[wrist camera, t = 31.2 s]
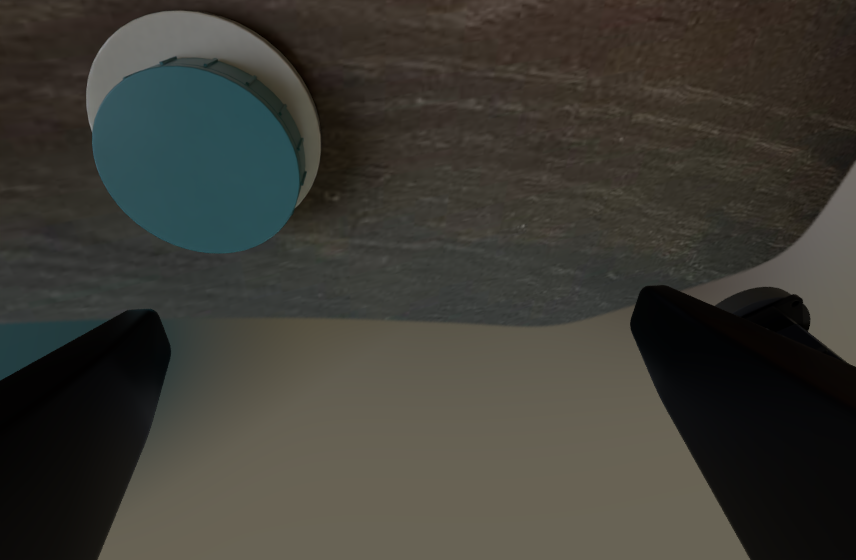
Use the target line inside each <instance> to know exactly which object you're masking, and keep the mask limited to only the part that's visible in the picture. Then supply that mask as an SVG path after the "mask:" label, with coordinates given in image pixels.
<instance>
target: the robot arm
mask: <svg viewBox="0 0 856 560" xmlns="http://www.w3.org/2000/svg"><path fill="white" fill-rule="evenodd" d="M630 326H631V331H632V334H633V336H634V339H635V341H636V343H637V346H638V348H639V351H640V353H641V355H642V357H643V360H644V362H645V365H646V367H647V369H648V372H649V374H650V376H651V378H652V381H653V383H654V386H655V388H656V389H657V392H658V394H659V396H660V398H661V400H662V402H663V404H664V406H665V408H666V410H667V412H668V413H669V415H670V417H671V419H672V420H673V422H674V424H675V426H676V427H677V429H678V431H679V433H680V435H681V436H682V438H683V440H684V442H685V444H686V445H687V447H688V449H689V451H690V452H691V454H692V456H693V458H694V460H695V462H696V463H697V465H698V467H699V469H700V470H701V472H702V474H703V476H704V478H705V479H706V481H707V483H708V485H709V487H710V488H711V490H712V492H713V494H714V495H715V497H716V499H717V501H718V503H719V505H720V506H721V508H722V510H723V512H724V513H725V515H726V517H727V519H728V521H729V522H730V524H731V526H732V528H733V529H734V531H735V533H736V535H737V537H738V538H739V540H740V542H741V544H742V545H743V547H744V549H745V551H746V553H747V555H748V556H749V558H750V560H856V367H855V366H853V365H850V364H849V363H847V362H846V361H845V360H843V359H842V358H841V357H839V356H838V355H837V354H836V353H834V352H833V351H832V350H830V349H829V348H828V347H827V346H825V345H824V344H823V343H822V342H820V341H819V340H818V339H816V338H815V337H814V336H812V335H811V334H810V333H809V332H807V331H806V330H805V329H804V314H803V299H802V298H801V297H799V296H798V295H796V294H792V295H789V296H787V297H785V298H782V299H780V300H778V301H776V302H773V303H771V304H769V305H767V306H764V307H762V308H760V309H758V310H755V311H753V312H751V313H749V314H746V315H744V316H742V317H738V316H736V315H734V314H731V313H729V312H727V311H724V310H722V309H720V308H717V307H715V306H713V305H710V304H708V303H705V302H703V301H701V300H698V299H696V298H694V297H692V296H689V295H687V294H685V293H682V292H680V291H678V290H675V289H673V288H671V287H669V286H665V285H657V286H646V287H644V288H643V289H642V290H641V291H640V293H639V296H638V299H637V302H636V305H635V308H634V311H633V314H632V317H631V322H630ZM170 356H171V348H170V343H169V341H168V338H167V335H166V333H165V330H164V327H163V325H162V322H161V320H160V317H159V315H158V313H157V312H156V311H154V310H152V309H136V310H127V311H125V312H123V313H121V314H120V315H118V316H116V317H114V318H112V319H111V320H109V321H107V322H105V323H103V324H102V325H100V326H98V327H96V328H94V329H93V330H91V331H89V332H87V333H85V334H84V335H82V336H80V337H78V338H76V339H75V340H73V341H71V342H69V343H67V344H65V345H64V346H62V347H60V348H58V349H56V350H55V351H53V352H51V353H49V354H47V355H46V356H44V357H42V358H40V359H38V360H37V361H35V362H33V363H31V364H29V365H28V366H26V367H24V368H22V369H20V370H19V371H17V372H15V373H13V374H12V375H10V376H8V377H6V378H4V379H2V380H1V381H0V560H97V559H98V557H99V555H100V552H101V550H102V547H103V545H104V542H105V540H106V537H107V535H108V532H109V530H110V528H111V525H112V523H113V521H114V518H115V516H116V513H117V511H118V508H119V506H120V503H121V501H122V499H123V496H124V494H125V491H126V489H127V486H128V484H129V482H130V479H131V477H132V474H133V472H134V469H135V467H136V465H137V462H138V460H139V457H140V455H141V452H142V450H143V448H144V445H145V442H146V440H147V437H148V434H149V431H150V428H151V425H152V422H153V418H154V415H155V411H156V407H157V403H158V400H159V397H160V393H161V389H162V386H163V382H164V379H165V375H166V371H167V368H168V364H169V361H170Z"/></svg>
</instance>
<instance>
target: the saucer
mask: <svg viewBox="0 0 856 560" xmlns="http://www.w3.org/2000/svg"><path fill="white" fill-rule="evenodd" d="M174 56H177V59H179V58H205V59H213V58H217V59H218V61H220V62H224V63H226V64H229V65H232V66H234V67H237V68H239V69H241V70H243V71H244V72H246V73H248V74H250V75H252V76H254V75H255V76H257V80H259V81H260V82H262V83H263V84H264V85H265V86H266V87H268V88H269V89H270V90H271V91H272V92H273V93H274V94H275V95H276V96H277V97H278V98H279V99H280V100H281V102H282V103H283V104H286V105H287V110H288V111H289V113H290V114H291V116H292V118H293V119H294V121H295V123H296V125H297V128H298V130H299V132H300V135H301V138H304V142H303V146H304V152H305V171H307V174H306V178H305V181H304V185H303V186H301V190H300V193H299V197H298V200H297V203H296V206H295V208H296V207H297V206H298V205H299V204H300V203H301V202H302V200H303V199H304V198H305V197H306V195H307V194H308V192H309V190H310V189H311V187H312V185H313V182H314V180H315V177H316V175H317V171H318V167H319V163H320V159H321V149H322V136H321V127H320V121H319V117H318V113H317V110H316V107H315V104H314V101H313V99H312V97H311V94H310V92H309V90H308V88H307V86H306V85H305V83H304V81H303V80H302V78H301V76H300V75H299V74H298V72H297V71H296V70H295V68H294V67H293V65H292V64H291V63H290V62H289V61H288V60H287V59H286V58H285V56H284V55H283V54H282V53H281V52H280V51H279V50H278V49H277V48H275V47H274V46H273V45H272V44H271V43H269V42H268V41H267V40H266V39H264V38H263V37H262V36H260V35H259V34H257V33H256V32H254V31H253V30H251V29H249V28H247V27H245V26H243V25H241V24H239V23H238V22H236V21H233V20H230V19H228V18H225V17H222V16H220V15H216V14H211V13H207V12H203V11H193V10H169V11H162V12H157V13H152V14H148V15H145V16H142V17H140V18H137V19H135V20H132V21H131V22H129V23H127V24H126V25H124V26H122V27H121V28H119V29H118V30H117V31H116V32H115V33H114V34H112V35H111V36H110V37H109V38H108V39H107V41H106V42H105V43H104V44H103V46H102V47H101V48H100V50H99V51H98V53H97V55H96V57H95V59H94V61H93V63H92V66H91V70H90V73H89V76H88V82H87V90H86V107H87V113H88V119H89V124H90V127H91V131H92V130H93V125H94V120H95V116H96V114H97V111H98V108H99V106H100V105H101V103H102V101H103V100H104V98H105V96H106V95H107V94H108V93H109V92H110V91H111V90H112V88H113V87H114V86H116V85H117V84H118V83H119V82H121V81H122V80H123V79H122V78H123V77H125V76H128V75H130V74H133V73H135V72H138V71H140V70H144V69H146V68H149V67H152V66H154V65H157V64H159V62H160V61H163V60H166V59H168V58H171V57H174Z"/></svg>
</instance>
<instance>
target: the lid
mask: <svg viewBox="0 0 856 560" xmlns="http://www.w3.org/2000/svg"><path fill="white" fill-rule="evenodd" d="M122 79H123V80H122V81H121V82H119V83H118V84H117V85H116V86H114V87H113V88H112V90H111V91H110V92H109V93H108V94H107V95H106V96H105V98H104V100H103V101H102V103H101V105H100V106H99V108H98V111H97V114H96V116H95V120H94V125H93V130H92V147H93V155H94V159H95V163H96V166H97V170H98V172H99V174H100V177H101V179H102V182H103V183H104V185H105V187H106V188H107V190H108V192H109V194H110V195H111V196H112V198H113V199H114V200H115V202H116V203H117V204H118V205H119V207H120V208H121V209H122V210H123V211H124V212H125V213H126V214H127V215H128V216H129V217H130V218H131V219H132V220H134V221H135V222H136V223H137V224H138V225H140V226H141V227H142V228H144V229H145V230H147V231H148V232H150V233H151V234H153V235H155V236H156V237H158V238H160V239H162V240H164V241H166V242H168V243H171V244H173V245H176V246H179V247H182V248H185V249H189V250H193V251H198V252H204V253H219V254H220V253H233V252H238V251H243V250H246V249H250V248H253V247H255V246H257V245H260V244H262V243H264V242H265V241H267V240H268V239H270V238H272V237H273V236H274V235H275V234H276V233H277V232H279V231H280V230H281V229H282V227H283V226H284V225H285V224H286V223H287V221H288V220H289V218H290V216H291V215H293V213H294V210H295V206H296V203H297V200H298V197H299V193H300V190H301V186H303V185H304V181H305V178H306V174H307V171H305V152H304V146H303V142H304V138H301V135H300V132H299V130H298V128H297V125H296V123H295V121H294V119H293V118H292V116H291V114H290V113H289V111H288V110H287V105H286V104H283V103H282V102H281V100H280V99H279V98H278V97H277V96H276V95H275V94H274V93H273V92H272V91H271V90H270V89H269V88H268V87H266V86H265V85H264V84H263V83H262V82H260V81H259V80H257V76H255V75H254V76H252V75H250V74H248V73H246V72H244V71H243V70H241V69H239V68H237V67H234V66H232V65H229V64H226V63H224V62H220V61H218V59H217V58H213V59H205V58H179V59H177V56H174V57H171V58H168V59H166V60H163V61H160V62H159V64H157V65H154V66H152V67H149V68H146V69H144V70H140V71H138V72H135V73H133V74H130V75H128V76H125V77H123V78H122Z"/></svg>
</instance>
